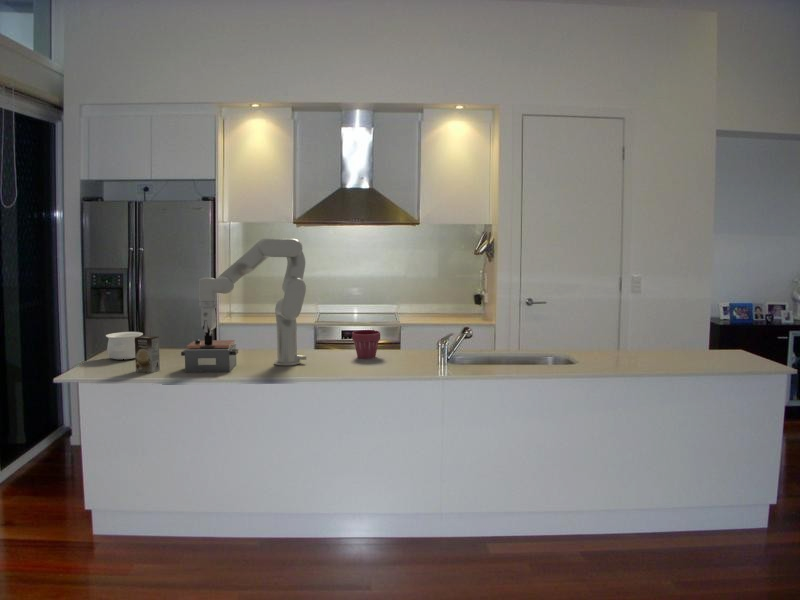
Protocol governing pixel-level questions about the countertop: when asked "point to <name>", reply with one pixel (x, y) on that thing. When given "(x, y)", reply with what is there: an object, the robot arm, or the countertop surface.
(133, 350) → the pot
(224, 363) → the cooker base
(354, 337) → the plant pot
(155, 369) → the coffee box
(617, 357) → the countertop surface
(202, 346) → the lid
